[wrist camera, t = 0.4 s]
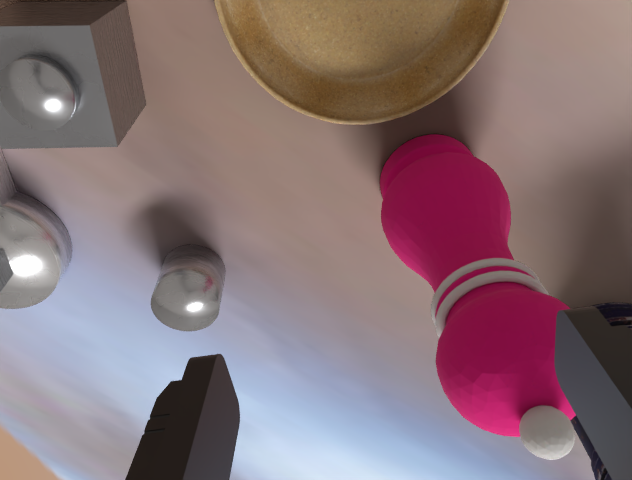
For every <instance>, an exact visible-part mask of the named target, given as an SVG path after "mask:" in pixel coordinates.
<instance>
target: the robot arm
mask: <svg viewBox="0 0 632 480" xmlns="http://www.w3.org/2000/svg"><path fill="white" fill-rule="evenodd" d="M554 364H555V371H556V376H557V379H558V382H559V385H560V387H561V389H562V391H563V393H564V394H565V396H566V398H567V400H568V402H569V403H570V405H571V407H572V409H573V411H574V412H575V414H576V416H577V418H578V419H579V421H580V423H581V425H582V427H583V428H584V430H585V432H586V434H587V436H588V437H589V439H590V441H591V443H592V444H593V446H594V448H595V450H596V452H597V453H598V455H599V457H600V459H601V461H602V462H603V464H604V466H605V468H606V469H607V471H608V473H609V475H610V477H611V478H612V480H632V330H631V329H629V328H628V327H626V326H624V325H619V326H611V325H610V324H609V323H608V321H607V320H606V319H605V318H604V316H603V315H602V314H601V313H600V311H599V310H598V309H597V308H596V307H594V306H589V307H581V308H574V309H566V310H560V311H558V313H557V317H556V335H555V357H554ZM239 422H240V411H239V403H238V399H237V396H236V393H235V390H234V387H233V384H232V381H231V378H230V375H229V372H228V369H227V366H226V363H225V360H224V358H223V356H222V355H221V354H216V355H208V356H200V357H193V358H190V359H189V361H188V363H187V366H186V369H185V372H184V375H183V378H182V380H179V381H171V382H170V383H169V385H168V386H167V387H166V388H165V389H164V390H163V392H162V393H161V394H160V395H159V396H158V397H157V399H156V402H155V404H154V407H153V410H152V412H151V415H150V420H148V422H147V425H146V428H145V430H144V432H145V433H144V435H142V438H141V441H140V443H139V446H138V448H137V451H136V453H135V456H134V459H133V461H132V464H131V466H130V469H129V472H128V474H127V477H126V479H125V480H229V478H230V472H231V467H232V462H233V456H234V451H235V445H236V440H237V435H238V429H239Z"/></svg>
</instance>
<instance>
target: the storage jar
mask: <svg viewBox="0 0 632 480" xmlns="http://www.w3.org/2000/svg"><path fill="white" fill-rule="evenodd" d="M594 307H596V308H597V309H598V310H599V311H600V313H601V314H602V315H603V316H604V318H605V319H606V320H607V321H608V323H609V324H610V325H611V326H619V325H624V326H626V327H628V328H629V329H631V330H632V304H627V303H603V304H598V305H594ZM570 421H571V423H572V425H573V427H574V430H575V431H576V433H577V435H578V436H579V438H580V440H581V442H582V444H583V446H584V448H585V450H586V452H587V454H588V455H589V457H590V459H591V466H592V470H593V472H594V476H595V480H612V478H611V477H610V475H609V473H608V471H607V469H606V468H605V466H604V464H603V462H602V461H601V459H600V457H599V455H598V453H597V452H596V450H595V448H594V446H593V444H592V443H591V441H590V439H589V437H588V436H587V434H586V432H585V430H584V428H583V427H582V425H581V423H580V421H579V419H578V418H577V416H575V417H574V418H572V419H571V420H570Z"/></svg>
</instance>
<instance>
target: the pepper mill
mask: <svg viewBox="0 0 632 480" xmlns="http://www.w3.org/2000/svg"><path fill="white" fill-rule="evenodd" d="M380 190H381V194H382V198H383V202H382V210H381V222H382V226H383V230H384V233H385V235H386V237H387V239H388V242H389V244H390V246H391V248H392V249H393V251H394V252H395V253H396V254H397V256H398V257H399V258H400V259H401V260H402V261H403V262H404V263H405V264H406V265H407V266H408V267H409V268H411V269H412V270H414V271H415V272H416V273H418V274H419V275H421V276H422V277H423V278H424V279H425V280H427V281H428V282H429V284H430V285H431V286H432V288H433V290H434V292H435V294H434V296H433V300H432V304H431V316H432V319H433V322H434V324H435V326H436V332H437V334H438V337H439V341H438V347H437V354H436V367H437V373H438V376H439V379H440V382H441V385H442V387H443V390H444V392H445V394H446V395H447V397H448V399H449V400H450V402H451V404H452V405H453V406H454V407H455V408H456V409H457V411H458V412H459V413H460V414H461V415H462V416H463V417H464V418H465V419H467V420H468V421H470V422H471V423H472V424H474V425H476V426H478V427H479V428H481V429H483V430H485V431H489V432H492V433H495V434H498V435H503V436H515V437H519V436H521V440H522V442H523V444H524V445H525V447H526V448H527V449H528V450H529V451H530V452H531V453H533V454H534V455H536V456H538V457H541V458H544V459H548V460H553V459H559V458H562V457H563V456H565V455H566V454H568V453H569V452H570V450H571V449H572V447H573V445H574V441H575V431H574V427H573V425H572V423H571V421H570V420H571V419H572V418H574V417H575V416H576V414H575V412H574V411H573V409H572V407H571V405H570V403H569V402H568V400H567V398H566V396H565V394H564V393H563V391H562V389H561V387H560V385H559V382H558V379H557V376H556V371H555V364H554V357H555V335H556V317H557V313H558V311H560V310H566V309H570V308H569V307H568V306H567V305H566V304H564V303H563V302H561V301H560V300H558V299H557V298H554V297H552V296H549V294H548V292H547V290H546V289H545V288H544V286H543V285H542V284H541V282H540V280H539V278H538V276H537V275H536V274H535V273H534V272H533V271H532V270H531V269H530V268H529V267H528V266H526V265H525V264H523V263H520V262H518V261H514V259H513V257H512V254H511V252H510V250H509V248H508V245H507V242H508V235H509V230H510V225H511V211H510V203H509V199H508V195H507V192H506V190H505V188H504V186H503V184H502V182H501V180H500V178H499V176H498V175H497V174H496V173H495V171H494V170H493V169H492V168H491V167H490V166H488V165H487V164H486V163H485V162H483V161H481V160H480V159H478V158H476V157H474V156H473V155H472V153H471V152H470V151H469V149H468V148H467V147H466V146H465V145H464V144H463V143H461V142H460V141H458V140H456V139H454V138H452V137H449V136H445V135H438V134H432V135H424V136H420V137H417V138H414V139H412V140H409V141H407V142H406V143H404V144H403V145H401V146H400V147H399V148H397V149H396V150H395V151H394V152H393V153H392V155H391V156H390V157H389V159H388V160H387V161H386V163H385V165H384V167H383V170H382V173H381V177H380Z"/></svg>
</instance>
